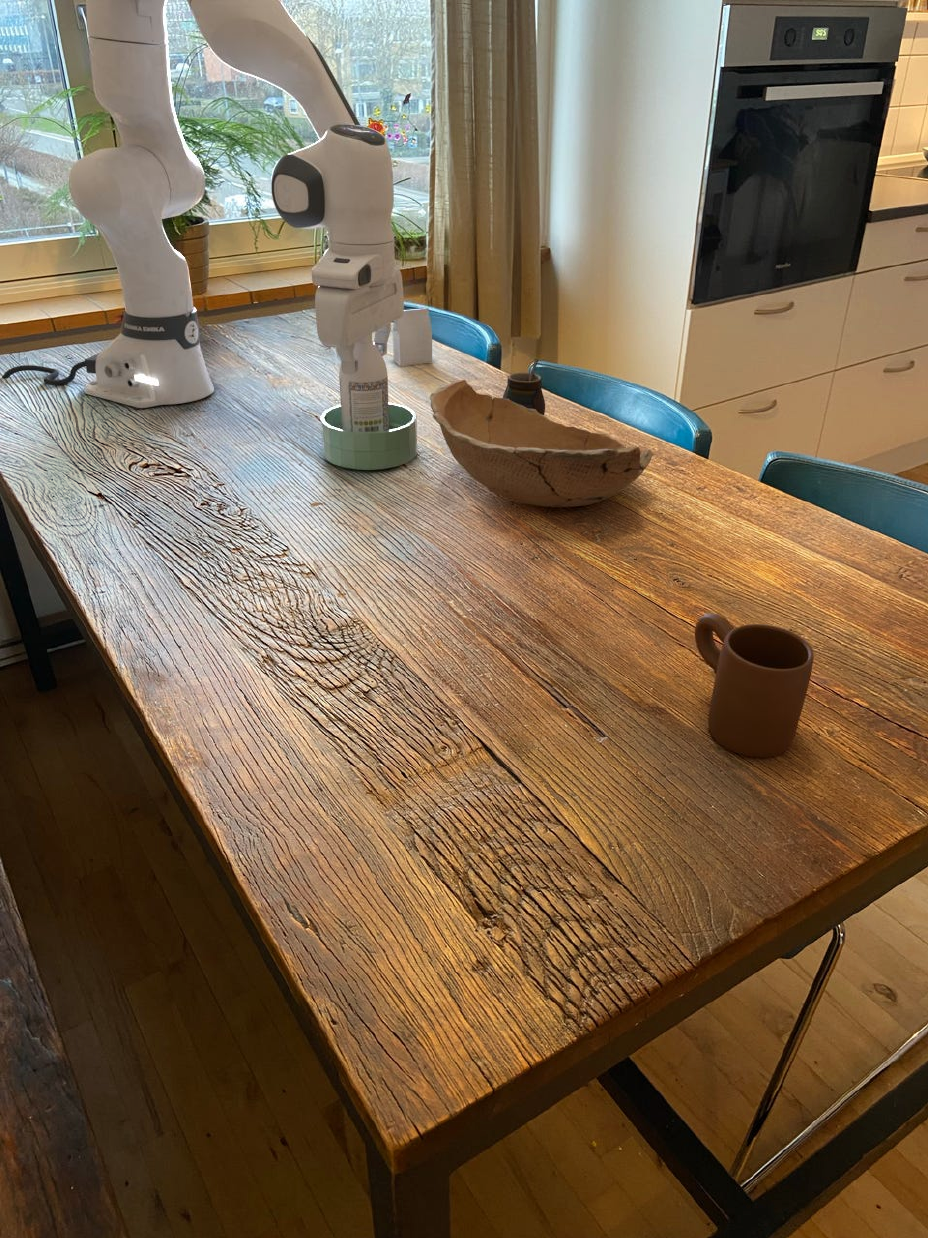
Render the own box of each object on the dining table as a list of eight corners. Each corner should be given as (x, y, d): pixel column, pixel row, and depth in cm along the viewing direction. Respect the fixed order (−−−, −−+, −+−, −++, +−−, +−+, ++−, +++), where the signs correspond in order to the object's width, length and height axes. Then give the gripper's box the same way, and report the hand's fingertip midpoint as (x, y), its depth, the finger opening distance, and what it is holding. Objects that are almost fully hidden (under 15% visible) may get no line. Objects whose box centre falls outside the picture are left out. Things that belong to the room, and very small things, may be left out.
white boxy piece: (432, 362, 180) (432, 310, 175) (400, 366, 178) (399, 313, 172) (424, 357, 183) (424, 306, 178) (393, 361, 180) (392, 308, 175)
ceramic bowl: (671, 461, 133) (678, 364, 123) (614, 569, 114) (617, 465, 105) (483, 433, 144) (475, 342, 134) (403, 527, 125) (388, 430, 116)
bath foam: (398, 452, 137) (395, 316, 127) (360, 463, 134) (353, 323, 123) (372, 439, 142) (367, 307, 131) (334, 449, 138) (326, 313, 128)
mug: (656, 698, 86) (670, 612, 81) (716, 675, 90) (733, 592, 85) (748, 772, 78) (769, 681, 73) (811, 744, 81) (835, 656, 76)
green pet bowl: (306, 464, 134) (303, 425, 131) (349, 433, 145) (348, 396, 142) (393, 478, 130) (392, 438, 127) (430, 446, 141) (430, 408, 138)
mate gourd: (493, 428, 148) (495, 367, 143) (509, 414, 154) (511, 355, 149) (535, 435, 146) (539, 373, 141) (549, 420, 152) (553, 360, 147)
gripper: (374, 247, 133) (376, 343, 140) (304, 273, 116) (311, 380, 124) (414, 251, 131) (414, 348, 138) (348, 278, 114) (353, 386, 122)
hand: (365, 364), depth 131 cm, fingers open, 8 cm apart
